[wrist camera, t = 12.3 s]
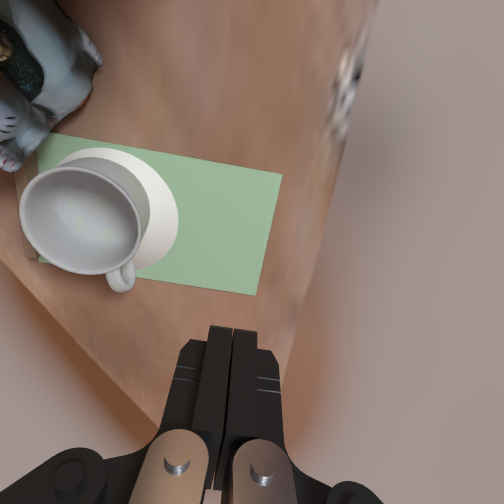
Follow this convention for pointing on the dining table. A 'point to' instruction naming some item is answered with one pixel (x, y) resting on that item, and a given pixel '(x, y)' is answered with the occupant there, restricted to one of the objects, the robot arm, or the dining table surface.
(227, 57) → the dining table surface
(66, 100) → the lucky cat figurine
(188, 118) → the dining table surface
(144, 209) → the teacup
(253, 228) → the putting green
